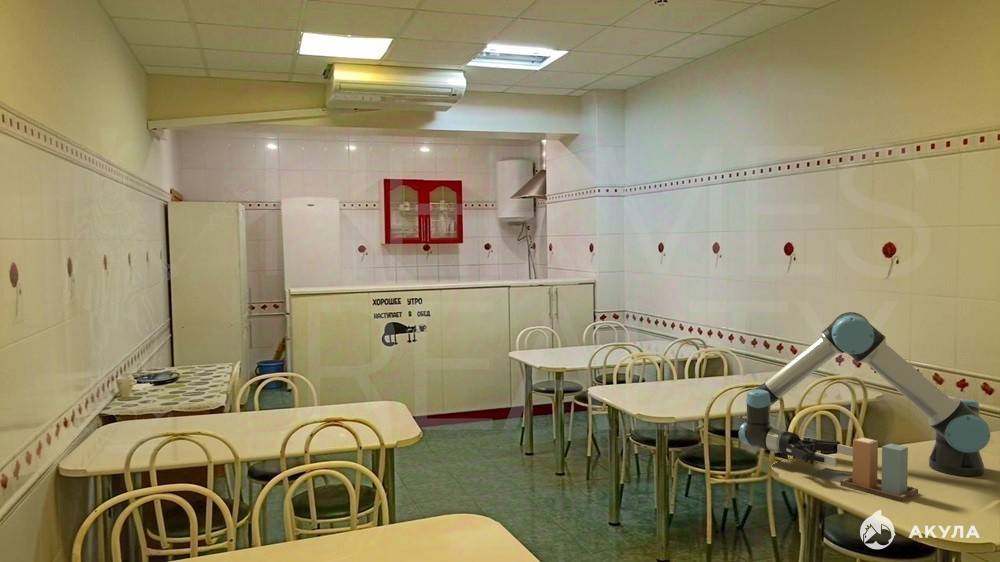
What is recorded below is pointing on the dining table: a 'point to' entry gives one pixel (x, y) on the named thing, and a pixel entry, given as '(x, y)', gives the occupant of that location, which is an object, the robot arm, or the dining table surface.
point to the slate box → (894, 469)
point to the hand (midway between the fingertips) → (847, 457)
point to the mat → (831, 474)
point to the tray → (879, 490)
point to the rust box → (865, 462)
